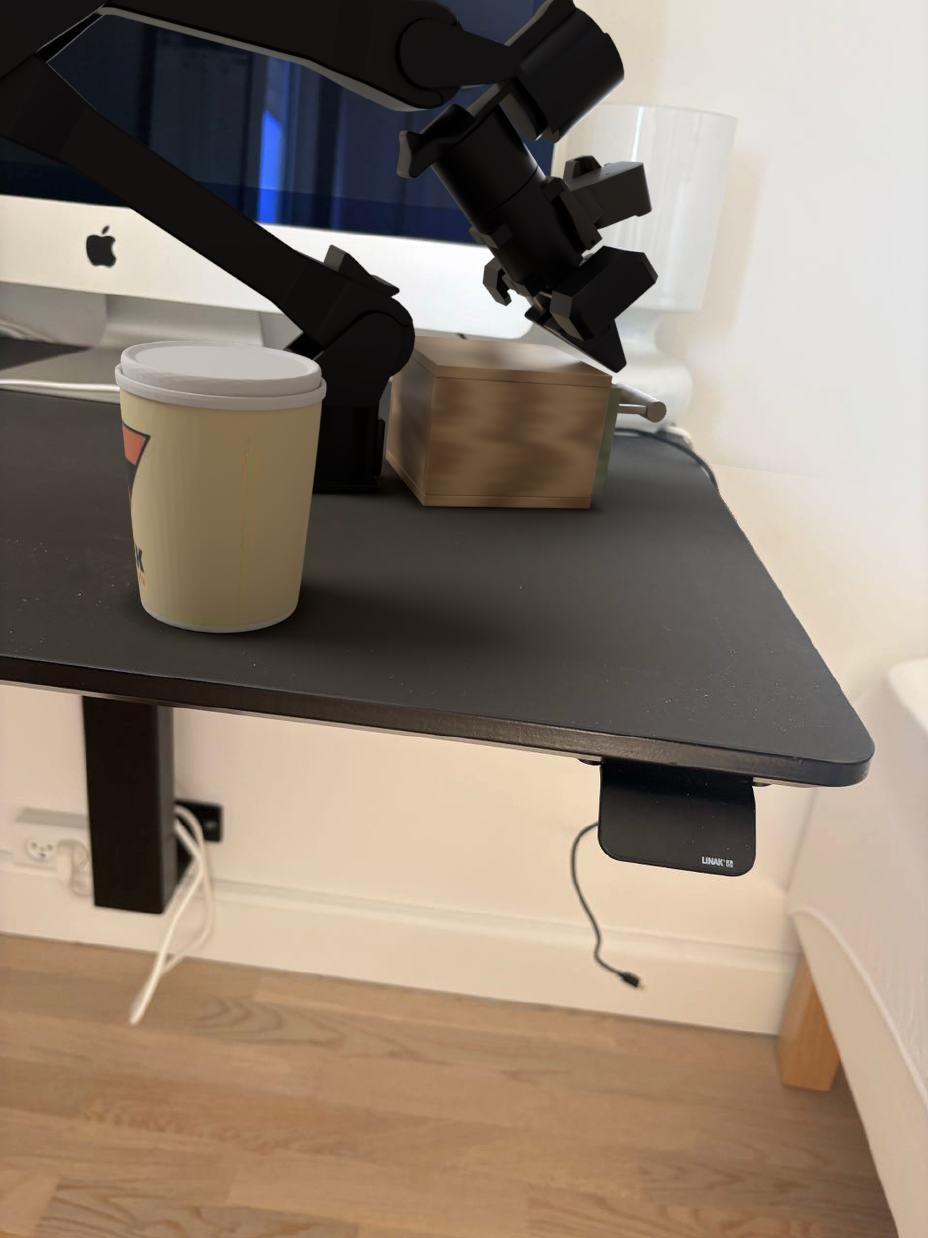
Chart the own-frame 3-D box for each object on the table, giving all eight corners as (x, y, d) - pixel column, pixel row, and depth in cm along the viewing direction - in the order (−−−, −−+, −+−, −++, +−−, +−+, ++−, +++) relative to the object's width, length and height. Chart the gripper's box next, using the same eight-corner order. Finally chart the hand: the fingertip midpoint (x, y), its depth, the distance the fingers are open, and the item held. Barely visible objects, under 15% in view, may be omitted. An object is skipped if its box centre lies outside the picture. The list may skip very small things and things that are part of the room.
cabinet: (533, 463, 80) (550, 345, 76) (589, 508, 70) (613, 375, 66) (385, 458, 76) (395, 333, 72) (423, 506, 66) (437, 364, 62)
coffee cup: (157, 556, 53) (154, 331, 48) (327, 576, 53) (341, 354, 48) (92, 628, 44) (79, 363, 39) (295, 651, 45) (307, 390, 40)
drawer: (605, 456, 81) (622, 362, 78) (663, 495, 72) (685, 391, 69) (416, 450, 76) (426, 349, 73) (454, 491, 67) (467, 378, 64)
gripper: (659, 104, 56) (773, 315, 64) (542, 111, 72) (645, 279, 80) (514, 234, 57) (645, 427, 65) (430, 213, 73) (543, 370, 81)
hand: (620, 368), depth 73 cm, fingers closed
